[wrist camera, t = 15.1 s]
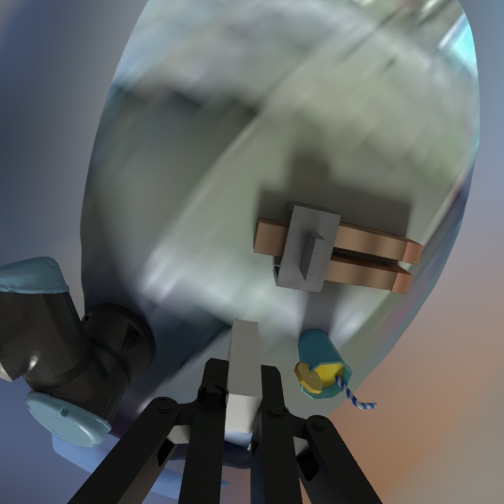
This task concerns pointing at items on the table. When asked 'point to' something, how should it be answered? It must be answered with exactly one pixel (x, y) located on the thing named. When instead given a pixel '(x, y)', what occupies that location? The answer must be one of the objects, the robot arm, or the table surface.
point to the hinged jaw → (377, 243)
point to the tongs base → (336, 261)
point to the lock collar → (307, 247)
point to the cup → (323, 369)
